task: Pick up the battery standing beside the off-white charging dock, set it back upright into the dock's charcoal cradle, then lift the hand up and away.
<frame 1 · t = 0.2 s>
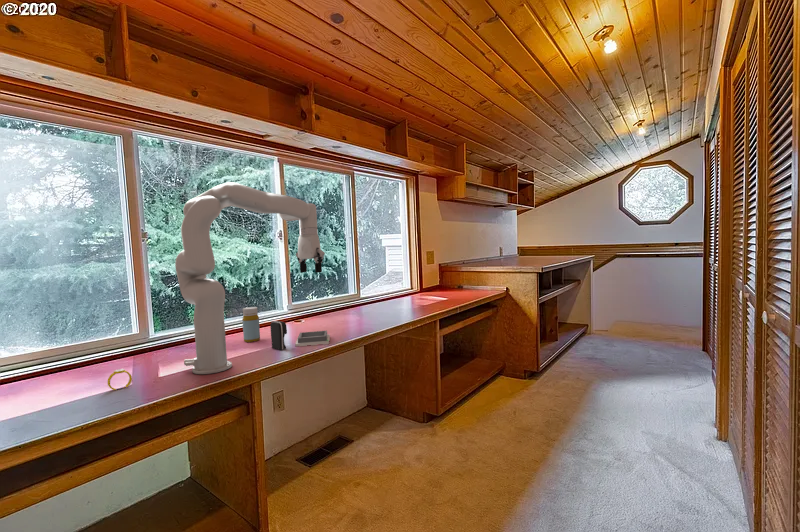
hand: (311, 272, 171), 30 cm above the table, tool pointing down, fingers open, 9 cm apart
bottle: (252, 341, 181), on the table
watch: (120, 389, 122), on the table
dock: (313, 341, 173), on the table
battery: (280, 349, 163), on the table
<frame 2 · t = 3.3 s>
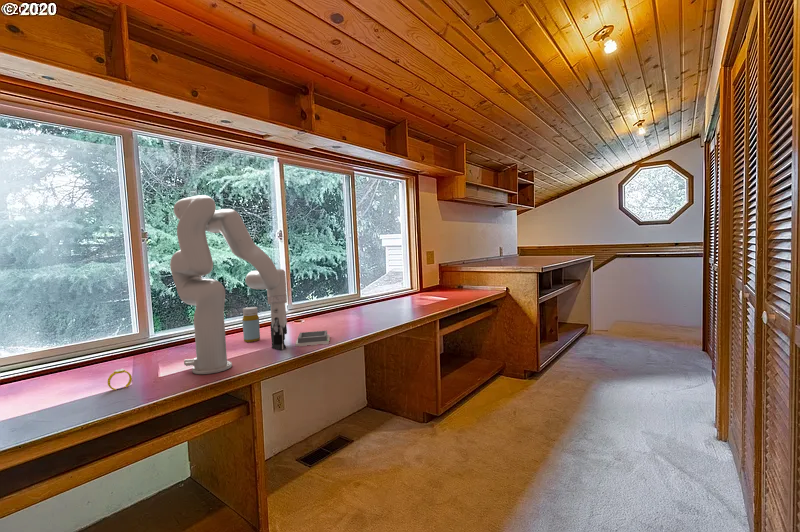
hand: (279, 342, 163), 3 cm above the table, tool pointing down, fingers open, 7 cm apart
battery: (280, 349, 163), on the table, touching gripper
everything else where it was.
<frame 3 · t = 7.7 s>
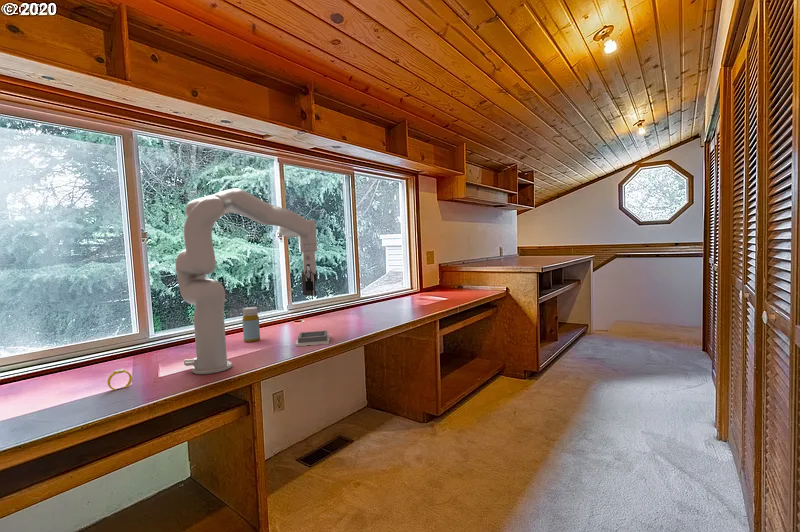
hand: (310, 289, 172), 23 cm above the table, tool pointing down, fingers closed on battery, 6 cm apart
battery: (310, 295, 173), point 20 cm above the table, touching gripper
everything else where it was.
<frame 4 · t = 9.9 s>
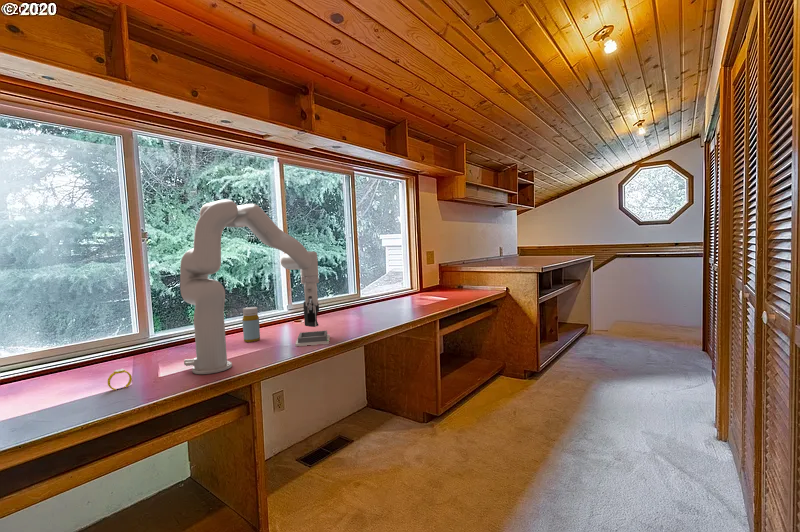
hand: (312, 320, 173), 9 cm above the table, tool pointing down, fingers closed on battery, 6 cm apart
battery: (312, 326, 173), point 7 cm above the table, touching gripper
everything else where it was.
when the fingers open (5 cm above the table, at t = 11.8 s): battery drops 1 cm, resting on dock.
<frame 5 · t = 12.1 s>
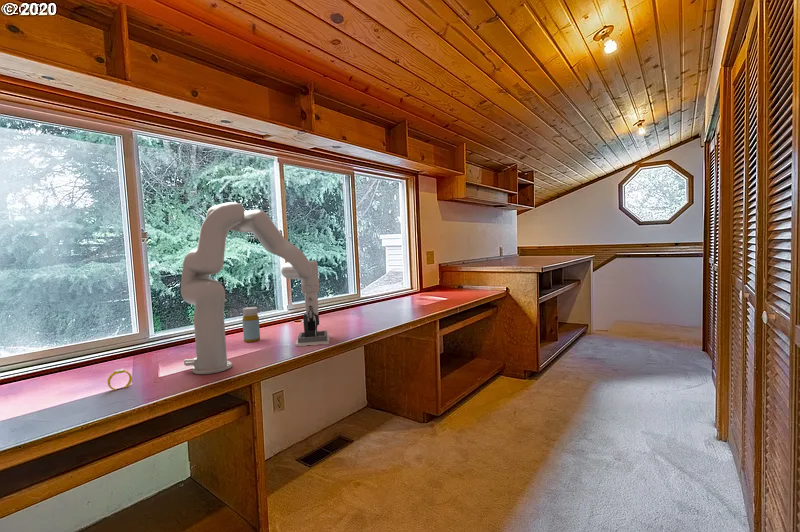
hand: (312, 328, 173), 6 cm above the table, tool pointing down, fingers open, 9 cm apart
battery: (312, 339, 173), point 1 cm above the table, touching dock
everything else where it was.
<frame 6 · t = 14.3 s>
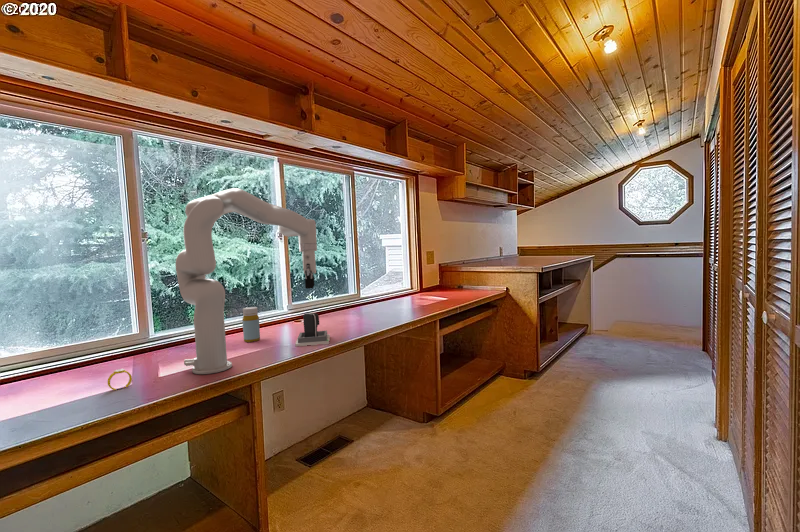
hand: (310, 287, 172), 24 cm above the table, tool pointing down, fingers open, 9 cm apart
nothing on the table moved.
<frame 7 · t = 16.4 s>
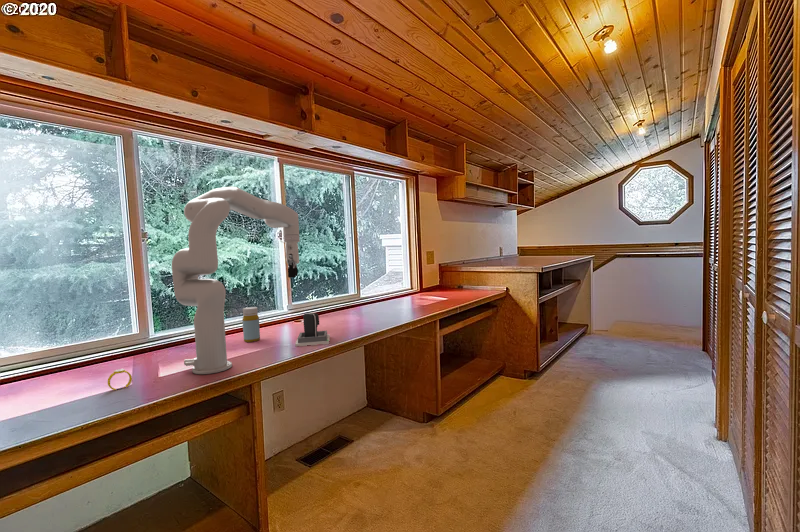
hand: (293, 276, 180), 28 cm above the table, tool pointing down, fingers open, 9 cm apart
nothing on the table moved.
at the end: battery 0.2 cm off-centre on the dock, point 1.0 cm above the dock's base; battery tilted 0°; the gripper is holding nothing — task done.
